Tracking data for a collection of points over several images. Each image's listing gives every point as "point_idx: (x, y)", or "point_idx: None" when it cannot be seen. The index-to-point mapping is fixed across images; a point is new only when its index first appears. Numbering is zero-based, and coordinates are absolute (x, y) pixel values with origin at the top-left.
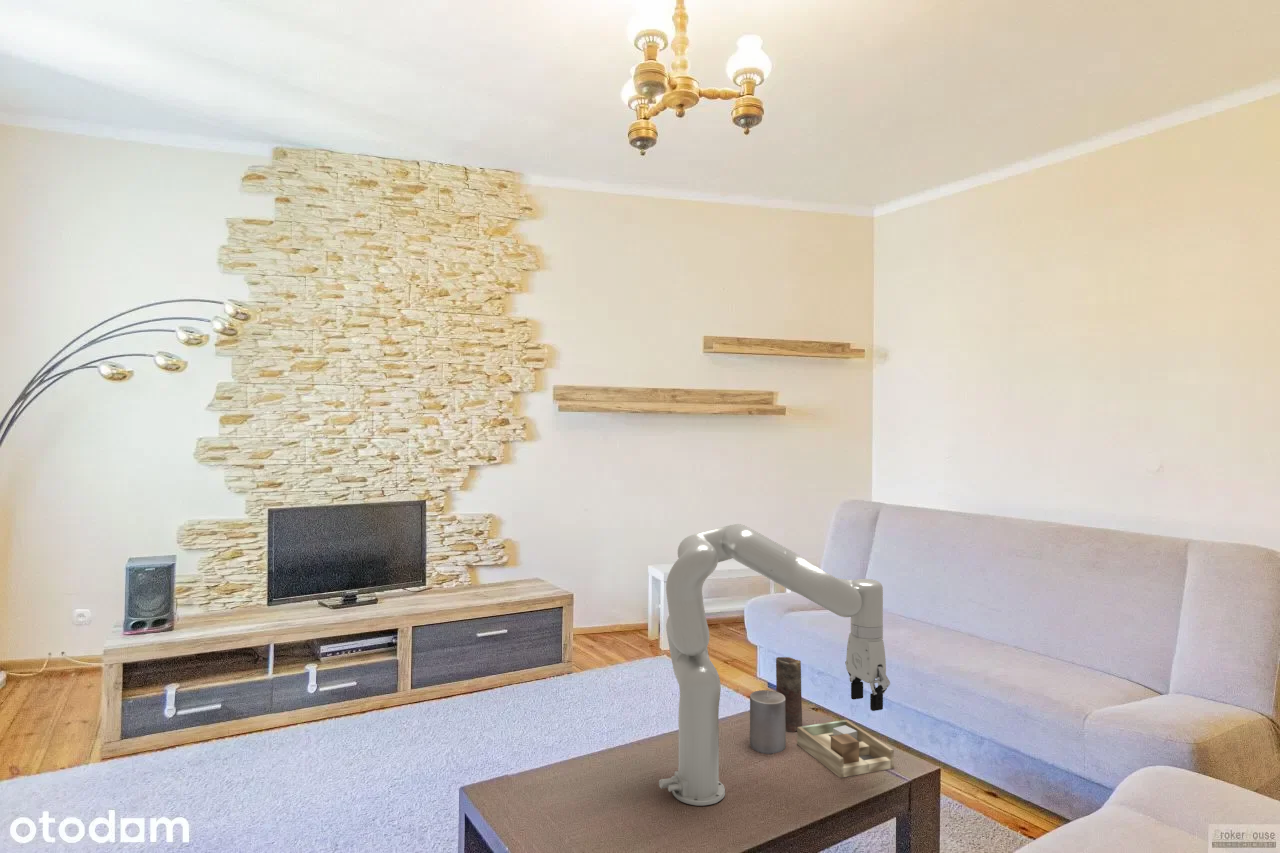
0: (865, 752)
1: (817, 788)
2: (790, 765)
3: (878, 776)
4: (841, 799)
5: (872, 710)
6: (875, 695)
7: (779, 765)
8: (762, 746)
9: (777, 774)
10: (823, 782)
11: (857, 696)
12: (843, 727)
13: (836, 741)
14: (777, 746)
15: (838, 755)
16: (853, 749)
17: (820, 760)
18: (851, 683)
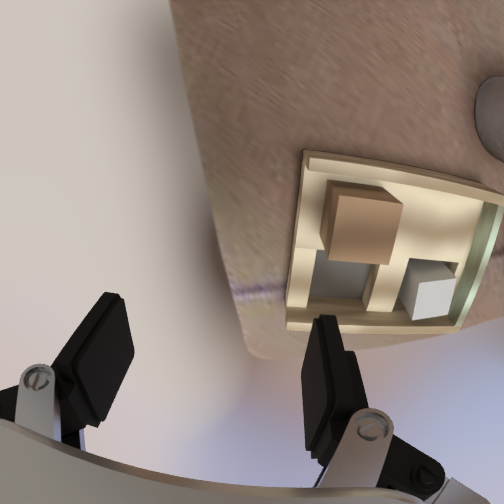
0: (366, 293)
1: (285, 61)
2: (417, 87)
3: (273, 248)
4: (212, 84)
5: (106, 294)
6: (56, 372)
7: (426, 63)
8: (495, 79)
9: (389, 25)
10: (307, 96)
11: (309, 352)
12: (443, 303)
13: (370, 197)
14: (483, 109)
15: (331, 169)
16: (328, 230)
17: (395, 164)
18: (349, 400)
